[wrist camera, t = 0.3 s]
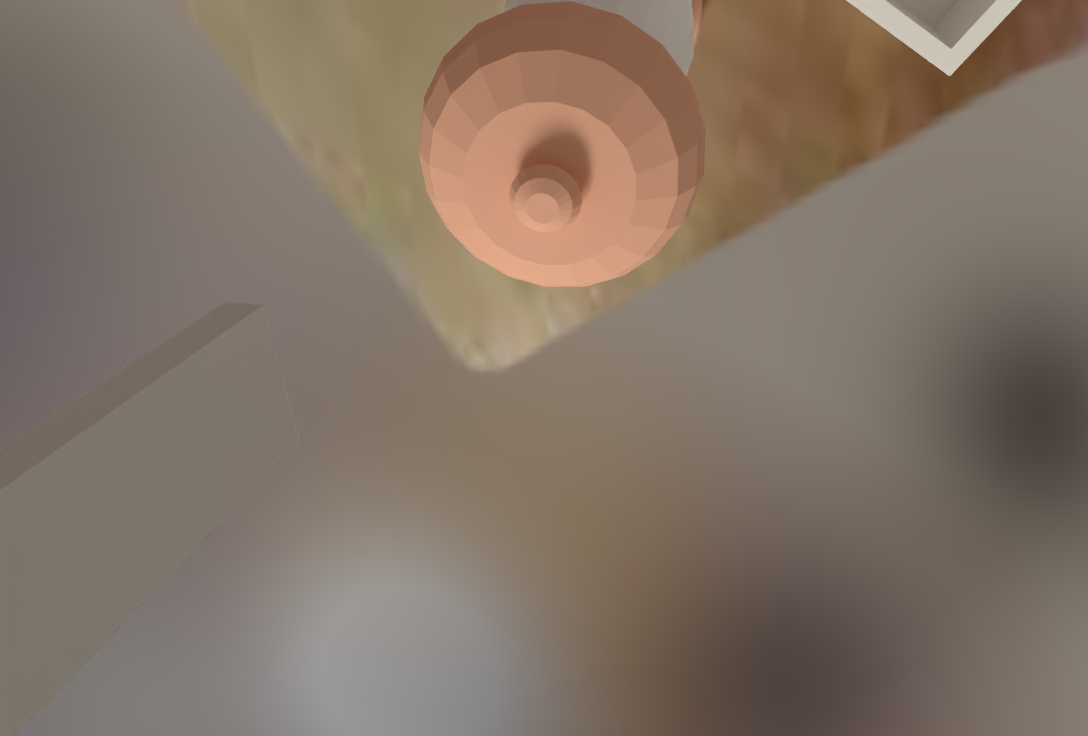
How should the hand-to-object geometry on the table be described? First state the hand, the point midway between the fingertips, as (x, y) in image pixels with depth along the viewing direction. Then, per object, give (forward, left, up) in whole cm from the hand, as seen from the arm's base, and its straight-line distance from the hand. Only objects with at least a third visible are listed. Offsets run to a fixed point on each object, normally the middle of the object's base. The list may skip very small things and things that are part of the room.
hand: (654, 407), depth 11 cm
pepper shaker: (+1, -2, -26) cm, 26 cm away
